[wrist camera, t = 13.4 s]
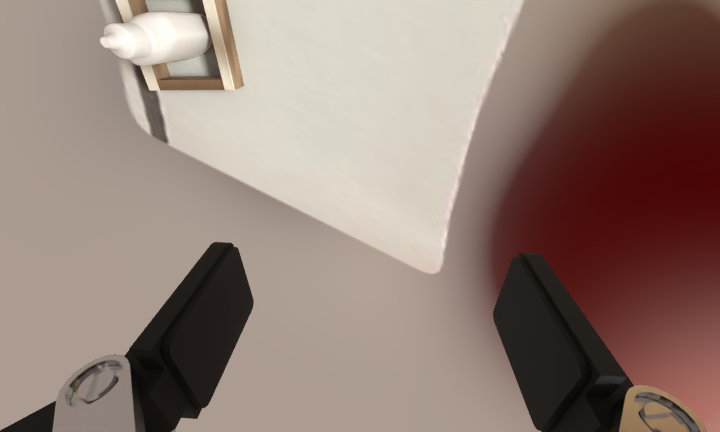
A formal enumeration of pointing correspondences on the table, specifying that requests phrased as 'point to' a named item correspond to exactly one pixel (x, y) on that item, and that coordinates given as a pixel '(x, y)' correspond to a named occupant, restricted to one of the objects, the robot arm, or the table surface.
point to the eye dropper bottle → (159, 37)
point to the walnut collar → (224, 45)
